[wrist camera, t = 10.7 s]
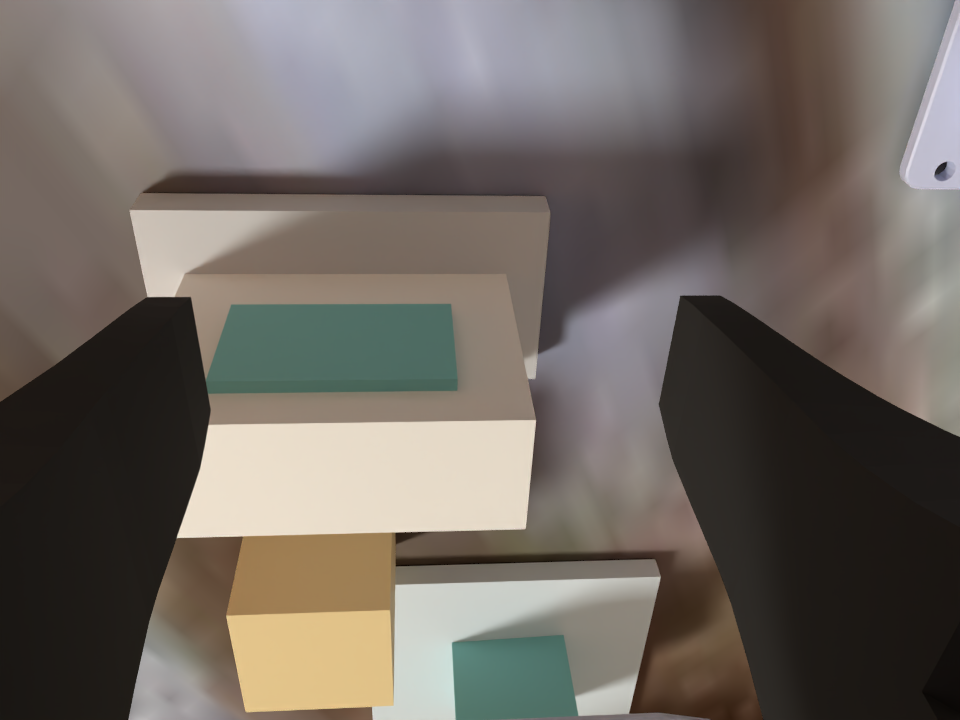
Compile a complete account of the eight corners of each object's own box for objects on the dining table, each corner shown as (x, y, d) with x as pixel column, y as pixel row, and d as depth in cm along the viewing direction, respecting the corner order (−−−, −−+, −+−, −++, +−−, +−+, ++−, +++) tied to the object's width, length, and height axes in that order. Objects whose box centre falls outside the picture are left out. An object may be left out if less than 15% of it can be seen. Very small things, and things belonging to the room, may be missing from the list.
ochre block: (393, 452, 26) (390, 610, 21) (395, 543, 28) (393, 705, 23) (260, 455, 26) (226, 615, 21) (274, 547, 28) (245, 712, 23)
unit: (545, 195, 21) (595, 347, 16) (530, 358, 24) (569, 537, 19) (140, 192, 21) (38, 351, 15) (174, 361, 23) (98, 550, 18)
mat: (655, 559, 29) (660, 576, 29) (617, 726, 35) (621, 744, 34) (366, 567, 29) (365, 585, 28) (375, 737, 34) (374, 755, 34)
